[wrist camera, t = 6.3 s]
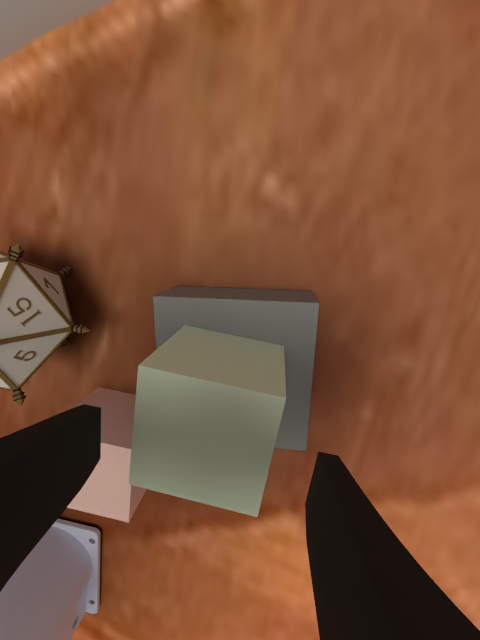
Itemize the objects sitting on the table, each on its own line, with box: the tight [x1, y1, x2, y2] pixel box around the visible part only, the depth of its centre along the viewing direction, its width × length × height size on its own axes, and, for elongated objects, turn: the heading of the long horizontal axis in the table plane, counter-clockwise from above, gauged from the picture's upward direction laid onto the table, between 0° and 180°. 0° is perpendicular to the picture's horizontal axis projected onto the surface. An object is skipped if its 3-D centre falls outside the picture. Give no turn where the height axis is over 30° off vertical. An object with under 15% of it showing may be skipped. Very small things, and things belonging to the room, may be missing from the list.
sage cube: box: [128, 325, 286, 517], centre depth 13 cm, size 5×5×5 cm
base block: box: [153, 286, 319, 451], centre depth 17 cm, size 8×8×4 cm
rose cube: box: [67, 387, 146, 522], centre depth 19 cm, size 5×5×5 cm
